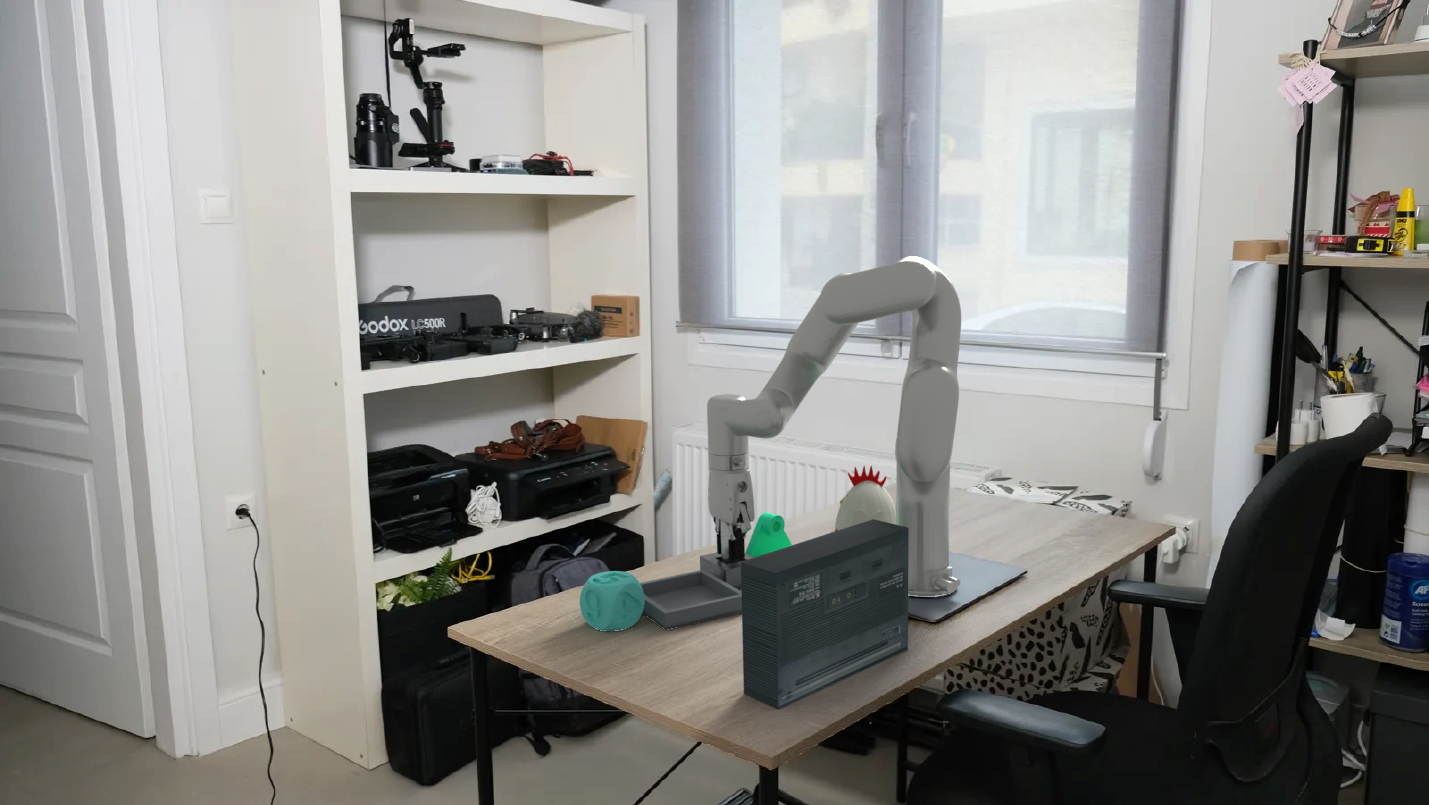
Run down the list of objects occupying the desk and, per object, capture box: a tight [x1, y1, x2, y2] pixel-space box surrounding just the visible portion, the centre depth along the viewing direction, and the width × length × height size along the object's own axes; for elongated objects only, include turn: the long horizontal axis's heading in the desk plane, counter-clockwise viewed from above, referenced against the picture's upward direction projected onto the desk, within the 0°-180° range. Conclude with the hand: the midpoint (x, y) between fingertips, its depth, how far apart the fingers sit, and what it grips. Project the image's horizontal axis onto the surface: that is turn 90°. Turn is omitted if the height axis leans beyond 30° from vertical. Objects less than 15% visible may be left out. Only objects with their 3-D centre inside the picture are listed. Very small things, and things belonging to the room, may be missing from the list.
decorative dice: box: [579, 570, 645, 632], centre depth 182 cm, size 8×8×8 cm
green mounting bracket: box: [745, 511, 793, 557], centre depth 210 cm, size 12×8×10 cm, turn 132°
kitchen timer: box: [834, 465, 896, 532], centre depth 228 cm, size 14×14×15 cm
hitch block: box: [699, 551, 754, 589], centre depth 203 cm, size 10×8×4 cm
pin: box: [721, 519, 741, 564], centre depth 202 cm, size 4×4×13 cm
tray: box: [639, 569, 742, 631], centre depth 189 cm, size 16×16×3 cm
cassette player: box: [740, 519, 909, 710], centre depth 160 cm, size 29×7×20 cm, turn 132°
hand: (730, 555), depth 202 cm, fingers closed on pin, 3 cm apart
